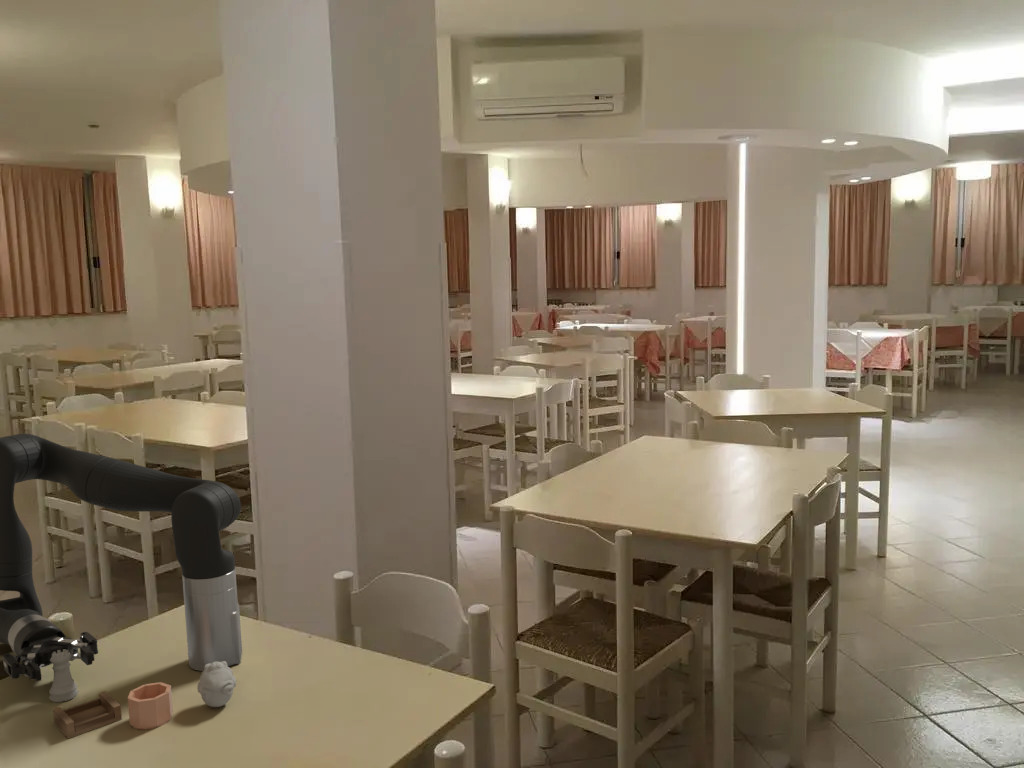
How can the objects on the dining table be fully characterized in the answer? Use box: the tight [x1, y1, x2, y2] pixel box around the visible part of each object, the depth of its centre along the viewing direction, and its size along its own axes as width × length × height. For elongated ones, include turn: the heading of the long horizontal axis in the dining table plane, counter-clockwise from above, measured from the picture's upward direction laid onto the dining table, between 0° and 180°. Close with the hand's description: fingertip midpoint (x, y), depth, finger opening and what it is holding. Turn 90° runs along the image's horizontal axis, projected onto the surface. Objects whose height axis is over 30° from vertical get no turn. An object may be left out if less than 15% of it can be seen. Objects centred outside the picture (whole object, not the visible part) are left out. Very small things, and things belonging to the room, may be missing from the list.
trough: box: [52, 691, 123, 739], centre depth 136 cm, size 7×8×2 cm
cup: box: [127, 681, 174, 730], centre depth 136 cm, size 6×6×5 cm
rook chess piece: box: [48, 649, 79, 703], centre depth 144 cm, size 4×4×8 cm
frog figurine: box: [197, 661, 237, 708], centre depth 140 cm, size 6×7×7 cm
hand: (64, 667), depth 143 cm, fingers open, 7 cm apart
